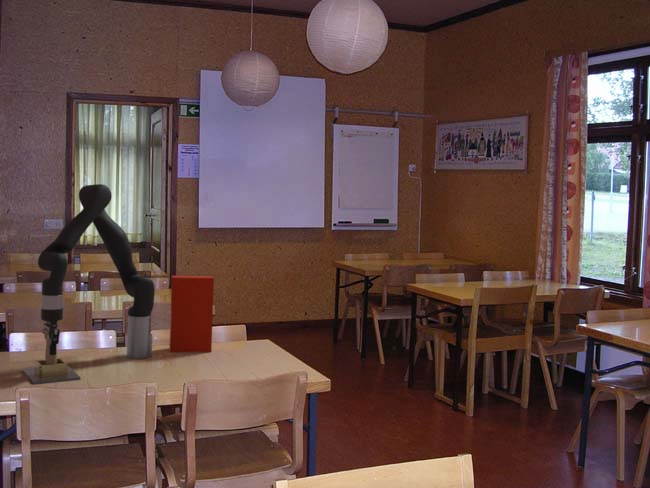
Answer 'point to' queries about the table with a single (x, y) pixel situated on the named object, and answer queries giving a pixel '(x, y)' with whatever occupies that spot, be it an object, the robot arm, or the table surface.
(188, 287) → the red rectangular box
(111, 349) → the table surface
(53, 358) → the handle
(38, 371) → the square socket base
